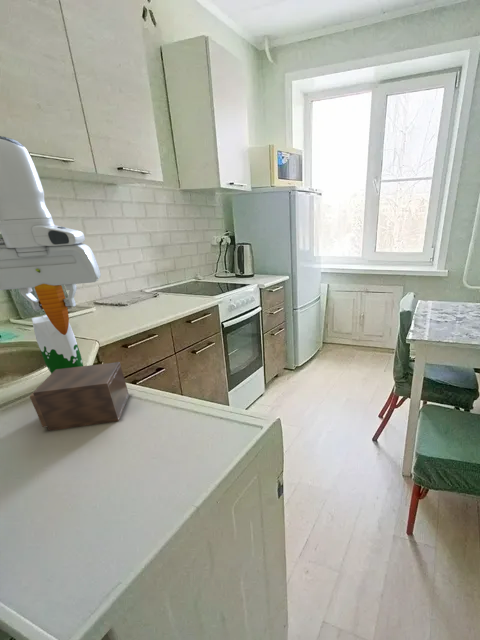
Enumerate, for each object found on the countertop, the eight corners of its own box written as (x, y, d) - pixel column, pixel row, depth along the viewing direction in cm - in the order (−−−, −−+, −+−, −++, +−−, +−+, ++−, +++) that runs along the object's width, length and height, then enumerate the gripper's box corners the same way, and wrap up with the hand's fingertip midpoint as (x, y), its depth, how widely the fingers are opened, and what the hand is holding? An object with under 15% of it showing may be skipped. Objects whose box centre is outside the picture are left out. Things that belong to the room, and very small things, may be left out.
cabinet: (48, 431, 78) (32, 392, 73) (68, 404, 89) (55, 369, 85) (118, 421, 80) (107, 383, 76) (129, 396, 91) (119, 361, 87)
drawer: (36, 428, 77) (23, 396, 74) (56, 403, 87) (45, 375, 84) (107, 418, 80) (97, 387, 76) (118, 395, 90) (110, 367, 86)
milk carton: (89, 377, 103) (67, 309, 95) (54, 386, 99) (27, 316, 90) (84, 368, 110) (62, 304, 101) (50, 376, 105) (25, 310, 96)
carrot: (82, 332, 77) (59, 260, 70) (59, 339, 73) (32, 264, 66) (69, 330, 79) (45, 260, 73) (46, 336, 75) (19, 263, 69)
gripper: (-41, 241, 63) (-8, 316, 69) (82, 233, 66) (102, 306, 72) (-21, 238, 68) (8, 309, 75) (91, 232, 72) (110, 300, 78)
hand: (55, 307), depth 74 cm, fingers closed on carrot, 5 cm apart
